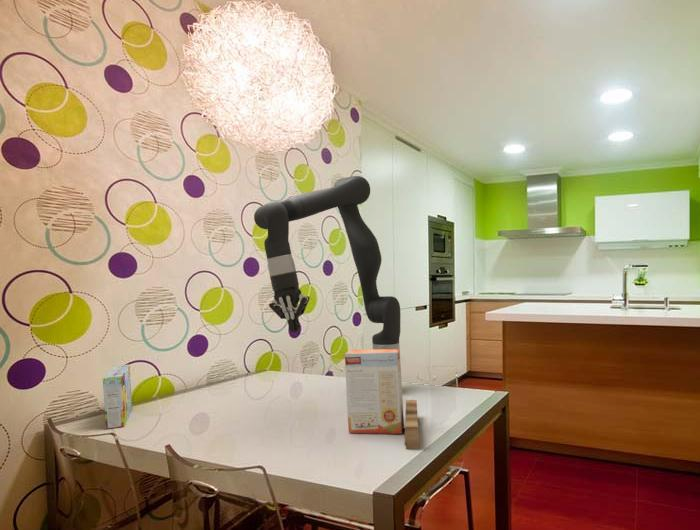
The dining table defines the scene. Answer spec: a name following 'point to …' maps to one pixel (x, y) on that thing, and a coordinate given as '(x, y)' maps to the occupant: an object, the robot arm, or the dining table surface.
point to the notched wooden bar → (411, 425)
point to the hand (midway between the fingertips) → (295, 331)
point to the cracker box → (374, 391)
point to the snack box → (117, 396)
